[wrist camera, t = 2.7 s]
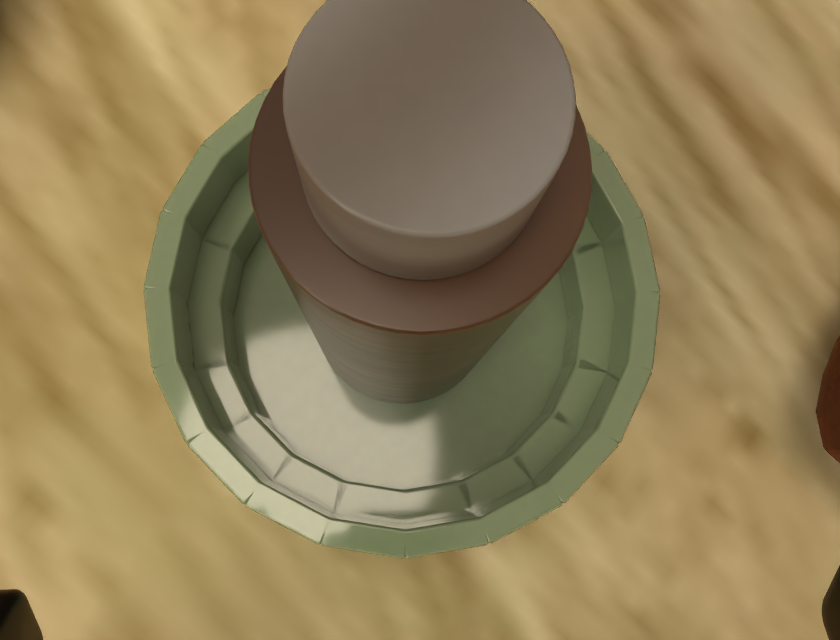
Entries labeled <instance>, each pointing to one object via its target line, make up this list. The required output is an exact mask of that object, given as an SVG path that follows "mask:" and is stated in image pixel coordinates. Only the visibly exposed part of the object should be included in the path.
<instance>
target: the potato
mask: <svg viewBox="0 0 840 640" xmlns="http://www.w3.org/2000/svg"><path fill="white" fill-rule="evenodd" d="M816 414H817V419H818V424H819V429H820V433H821V438H822V443H823V447H824V448H825V450H826V451H827V452H828V453H829V454H830V455H831V456H833V457H834V458H835V459H836V460H837V461H838V462H839V463H840V336H839V338H838V339H837V341H836V343H835V346H834V348H833V351H832V353H831V356H830V358H829V361H828V363H827V366H826V368H825V371H824V374H823V377H822V382H821V387H820V392H819V397H818V403H817V408H816Z"/></svg>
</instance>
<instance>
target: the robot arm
mask: <svg viewBox="0 0 840 640" xmlns="http://www.w3.org/2000/svg"><path fill="white" fill-rule="evenodd" d="M822 617H823V622H824V626H825V629H826V632H827V635H828V638H829V640H840V566H839V568H838V570H837V572H836V574H835V576H834V578H833V580H832V582H831V584H830V587H829V589H828V591H827V593H826V595H825V597H824V599H823V604H822ZM0 640H43V636H42V632H41V630H40V627H39V625H38V623H37V620H36V618H35V616H34V614H33V611H32V609H31V607H30V604H29V602H28V600H27V597H26V596H25V594H24V593H23V592H21V591H20V590H17V589H10V590H0Z"/></svg>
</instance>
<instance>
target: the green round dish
mask: <svg viewBox="0 0 840 640" xmlns="http://www.w3.org/2000/svg"><path fill="white" fill-rule="evenodd" d="M270 89H271V88H269V89H267V90H265V91H263V92H262V93H261V94H262V95H261V94H258V95H257V96H256V97H255V98H253V99H252V100H251V101H250V102H249V103H248V104H247V105H245V106H244V107H243V108H242V109H241V110H240V111H239V112H237V113H236V114H235V115H234V116H233V117H232V118H231V119H229V120H228V121H227V122H226V123H225V124H224V125H223V126H221V127H220V128H219V129H218V130H217V131H216V132H215V133H213V134H212V135H211V136H210V137H209V138H208V139H207V140H205V141H204V143H203V145H201V146H200V148H199V149H198V151H197V153H196V154H195V156H194V158H193V159H192V161H191V162H190V164H189V166H188V167H187V169H186V171H185V172H184V174H183V176H182V177H181V179H180V181H179V182H178V184H177V186H176V187H175V189H174V191H173V192H172V194H171V196H170V197H169V199H168V201H167V202H166V204H165V205H164V207H163V211H161V213H160V217H159V222H158V226H157V230H156V235H155V239H154V243H153V248H152V252H151V256H150V261H149V265H148V270H147V274H146V278H145V283H144V288H145V289H144V298H145V308H146V318H147V328H148V338H149V348H150V358H151V366H152V368H154V369H153V373H154V375H155V377H156V379H157V382H158V384H159V386H160V388H161V390H162V392H163V395H164V397H165V399H166V401H167V403H168V406H169V408H170V410H171V412H172V414H173V417H174V419H175V421H176V423H177V425H178V427H179V430H180V432H181V434H182V436H183V438H184V441H185V442H186V443H188V447H189V448H190V449H191V450H192V451H193V452H194V453H195V454H196V455H197V456H198V457H199V458H200V459H201V460H202V461H203V463H204V464H205V465H206V466H207V467H208V468H209V469H210V470H211V471H212V472H213V473H214V474H215V475H216V476H217V477H218V478H219V479H220V480H221V481H222V483H223V484H224V485H225V486H226V487H227V488H228V489H229V490H230V491H231V492H232V493H233V494H234V495H235V496H236V497H237V498H238V499H239V500H240V502H241V503H243V504H245V506H246V507H248V508H250V509H252V510H254V511H255V512H257V513H259V514H261V515H263V516H265V517H267V518H269V519H271V520H273V521H274V522H276V523H278V524H280V525H282V526H284V527H286V528H288V529H290V530H292V531H293V532H295V533H297V534H299V535H301V536H303V537H305V538H307V539H309V540H311V541H312V542H314V543H316V544H321V545H322V546H327V547H333V548H339V549H346V550H352V551H358V552H365V553H371V554H377V555H383V556H390V557H396V558H405V557H406V558H413V557H419V556H425V555H431V554H437V553H443V552H449V551H454V550H460V549H466V548H472V547H478V546H484V545H487V544H488V543H493V542H495V541H497V540H499V539H501V538H503V537H505V536H506V535H508V534H510V533H512V532H514V531H516V530H517V529H519V528H521V527H523V526H525V525H527V524H529V523H530V522H532V521H534V520H536V519H538V518H540V517H542V516H543V515H545V514H547V513H549V512H551V511H553V510H555V509H556V508H558V507H560V506H562V503H566V501H567V500H568V499H569V498H570V497H571V496H572V495H573V494H574V493H575V492H576V491H577V490H578V489H579V488H580V486H581V485H582V484H583V483H584V482H585V481H586V480H587V479H588V478H589V477H590V476H591V475H592V474H593V472H594V471H595V470H596V469H597V468H598V467H599V466H600V465H601V464H602V463H603V462H604V461H605V460H606V459H607V457H608V456H609V455H610V454H611V453H612V452H613V451H614V450H615V449H616V448H617V447H618V443H620V442H621V440H622V438H623V436H624V434H625V431H626V429H627V427H628V425H629V423H630V420H631V418H632V416H633V414H634V411H635V409H636V407H637V405H638V403H639V400H640V398H641V396H642V394H643V392H644V389H645V387H646V385H647V383H648V380H649V378H650V376H651V374H652V371H651V370H652V369H653V362H654V352H655V343H656V333H657V323H658V313H659V304H660V293H659V292H660V288H659V283H658V279H657V274H656V269H655V265H654V260H653V256H652V251H651V246H650V242H649V237H648V233H647V228H646V223H645V219H644V218H643V214H642V212H641V210H640V208H639V207H638V205H637V203H636V201H635V200H634V198H633V196H632V195H631V193H630V191H629V189H628V188H627V186H626V184H625V182H624V181H623V179H622V177H621V175H620V174H619V172H618V170H617V168H616V167H615V165H614V163H613V161H612V160H611V158H610V156H609V154H608V153H607V152H606V151H605V150H604V148H603V147H602V146H601V145H600V144H599V143H597V142H596V141H595V140H594V139H593V138H592V137H591V136H590V135H589V134H588V133H587V132H586V133H587V137H588V141H589V145H590V152H591V161H592V191H591V197H590V203H589V209H588V213H587V216H586V219H585V223H584V226H583V229H582V232H581V234H580V236H579V238H578V240H577V242H576V245H575V247H574V249H573V251H572V252H571V254H570V255H569V257H568V258H567V260H566V262H565V263H564V265H563V266H562V268H561V269H560V270H559V271H558V273H557V274H556V275H555V276H554V277H553V278H552V279H551V281H550V282H549V283H548V284H547V285H546V286H545V287H544V289H543V290H542V291H541V292H540V293H539V294H538V295H537V296H536V298H535V299H534V300H533V301H532V302H531V303H530V304H529V305H528V307H527V308H526V309H525V310H524V311H523V312H522V313H521V314H520V316H519V317H518V318H517V319H516V320H515V321H514V322H513V323H512V325H511V326H510V327H509V328H508V329H507V330H506V331H505V332H504V334H503V335H502V336H501V337H500V338H499V339H498V340H497V341H496V342H495V344H494V345H493V346H492V347H491V348H490V349H489V350H488V351H487V353H486V354H485V355H484V356H483V357H482V358H481V359H480V360H479V362H478V363H477V364H476V365H475V366H474V367H473V368H472V369H471V371H470V372H469V373H468V374H467V375H466V376H465V377H464V378H463V379H462V380H461V381H460V382H459V383H458V384H457V385H455V386H454V387H453V388H451V389H450V390H448V391H447V392H445V393H443V394H441V395H439V396H437V397H434V398H431V399H428V400H425V401H420V402H415V403H403V404H401V403H389V402H384V401H379V400H376V399H374V398H371V397H368V396H366V395H364V394H362V393H360V392H358V391H357V390H355V389H354V388H352V387H351V386H349V385H348V384H347V383H346V382H345V381H343V380H342V379H341V378H340V377H339V376H338V374H337V373H336V372H335V371H334V370H333V368H332V367H331V365H330V364H329V362H328V361H327V359H326V357H325V355H324V353H323V351H322V350H321V348H320V346H319V344H318V342H317V340H316V338H315V336H314V334H313V332H312V330H311V328H310V326H309V324H308V322H307V321H306V319H305V317H304V315H303V313H302V311H301V309H300V307H299V305H298V303H297V301H296V299H295V297H294V295H293V293H292V292H291V290H290V288H289V286H288V284H287V282H286V280H285V278H284V276H283V274H282V272H281V270H280V268H279V266H278V264H277V263H276V261H275V259H274V257H273V255H272V253H271V251H270V249H269V247H268V245H267V243H266V241H265V239H264V237H263V234H262V232H261V230H260V228H259V226H258V223H257V219H256V216H255V213H254V210H253V207H252V202H251V196H250V190H249V182H248V158H249V149H250V140H251V137H252V133H253V129H254V125H255V121H256V118H257V116H258V113H259V111H260V108H261V106H262V104H263V101H264V99H265V98H266V96H267V94H268V92H269V91H270Z"/></svg>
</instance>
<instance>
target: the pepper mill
mask: <svg viewBox="0 0 840 640" xmlns="http://www.w3.org/2000/svg"><path fill="white" fill-rule="evenodd" d="M248 182H249V190H250V196H251V202H252V207H253V210H254V213H255V216H256V219H257V223H258V226H259V228H260V230H261V232H262V234H263V237H264V239H265V241H266V243H267V245H268V247H269V249H270V251H271V253H272V255H273V257H274V259H275V261H276V263H277V264H278V266H279V268H280V270H281V272H282V274H283V276H284V278H285V280H286V282H287V284H288V286H289V288H290V290H291V292H292V293H293V295H294V297H295V299H296V301H297V303H298V305H299V307H300V309H301V311H302V313H303V315H304V317H305V319H306V321H307V322H308V324H309V326H310V328H311V330H312V332H313V334H314V336H315V338H316V340H317V342H318V344H319V346H320V348H321V350H322V351H323V353H324V355H325V357H326V359H327V361H328V362H329V364H330V365H331V367H332V368H333V370H334V371H335V372H336V373H337V374H338V376H339V377H340V378H341V379H342V380H343V381H345V382H346V383H347V384H348V385H349V386H351V387H352V388H354V389H355V390H357V391H358V392H360V393H362V394H364V395H366V396H368V397H371V398H374V399H376V400H379V401H384V402H389V403H401V404H403V403H415V402H420V401H425V400H428V399H431V398H434V397H437V396H439V395H441V394H443V393H445V392H447V391H448V390H450V389H451V388H453V387H454V386H455V385H457V384H458V383H459V382H460V381H461V380H462V379H463V378H464V377H465V376H466V375H467V374H468V373H469V372H470V371H471V369H472V368H473V367H474V366H475V365H476V364H477V363H478V362H479V360H480V359H481V358H482V357H483V356H484V355H485V354H486V353H487V351H488V350H489V349H490V348H491V347H492V346H493V345H494V344H495V342H496V341H497V340H498V339H499V338H500V337H501V336H502V335H503V334H504V332H505V331H506V330H507V329H508V328H509V327H510V326H511V325H512V323H513V322H514V321H515V320H516V319H517V318H518V317H519V316H520V314H521V313H522V312H523V311H524V310H525V309H526V308H527V307H528V305H529V304H530V303H531V302H532V301H533V300H534V299H535V298H536V296H537V295H538V294H539V293H540V292H541V291H542V290H543V289H544V287H545V286H546V285H547V284H548V283H549V282H550V281H551V279H552V278H553V277H554V276H555V275H556V274H557V273H558V271H559V270H560V269H561V268H562V266H563V265H564V263H565V262H566V260H567V258H568V257H569V255H570V254H571V252H572V251H573V249H574V247H575V245H576V242H577V240H578V238H579V236H580V234H581V232H582V229H583V226H584V223H585V219H586V216H587V213H588V209H589V203H590V197H591V191H592V161H591V152H590V145H589V141H588V137H587V133H586V129H585V126H584V123H583V121H582V118H581V116H580V113H579V111H578V108H577V106H576V96H575V87H574V80H573V76H572V72H571V68H570V65H569V62H568V60H567V57H566V55H565V52H564V50H563V47H562V45H561V43H560V42H559V40H558V38H557V36H556V35H555V33H554V31H553V30H552V28H551V27H550V26H549V24H548V23H547V22H546V20H545V19H544V18H543V16H542V15H541V14H540V13H539V12H538V11H537V10H536V9H535V8H534V7H533V6H532V5H531V4H530V3H529V2H527V1H526V0H327V1H326V2H325V3H324V4H323V5H322V6H321V7H320V8H319V9H318V10H317V11H316V13H315V14H314V15H313V16H312V18H311V19H310V20H309V22H308V23H307V24H306V25H305V27H304V28H303V30H302V32H301V34H300V35H299V37H298V39H297V41H296V42H295V45H294V47H293V50H292V52H291V55H290V57H289V60H288V64H287V66H286V68H285V69H284V70H283V72H282V73H281V74H280V76H279V77H278V78H277V79H276V81H275V82H274V84H273V85H272V87H271V89H270V91H269V92H268V94H267V96H266V98H265V99H264V101H263V104H262V106H261V108H260V111H259V113H258V116H257V118H256V121H255V125H254V129H253V133H252V137H251V140H250V149H249V158H248Z"/></svg>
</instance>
